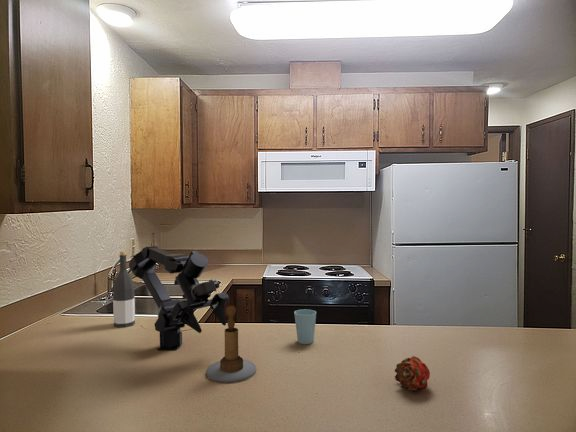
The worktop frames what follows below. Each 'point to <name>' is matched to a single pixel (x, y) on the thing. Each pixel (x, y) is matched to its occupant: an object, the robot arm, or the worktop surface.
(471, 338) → the worktop surface
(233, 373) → the mat
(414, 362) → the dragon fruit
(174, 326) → the robot arm
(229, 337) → the wooden pepper mill
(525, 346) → the worktop surface
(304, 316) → the cup
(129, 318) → the wine bottle
